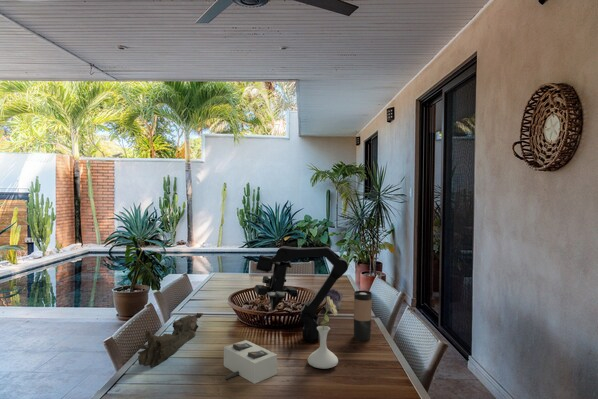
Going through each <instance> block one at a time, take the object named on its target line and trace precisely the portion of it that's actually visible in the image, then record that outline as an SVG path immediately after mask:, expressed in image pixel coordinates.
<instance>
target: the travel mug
mask: <svg viewBox="0 0 598 399" xmlns="http://www.w3.org/2000/svg"><path fill="white" fill-rule="evenodd" d="M353 294H354V295H353V296H354V298H353V301H354V302H353V338H354V340H357V341H362V342H365V341H369V340H371V332H372V329H371V328H372V304H373V303H372V291H368V290H356V291H354V293H353Z"/></svg>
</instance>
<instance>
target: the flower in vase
mask: <svg viewBox="0 0 598 399" xmlns="http://www.w3.org/2000/svg"><path fill="white" fill-rule="evenodd" d="M327 302H328V305H329V307H328V309H329V308H330V310H331V312H332V313H331V314H333V316H338V314H339V313H338V312H339V311H337V310H336V309H335V308H336V306H335V305H334V303H333V300H332V299H331V300H330V297H329V298H328V296H327ZM328 309H327V311H328ZM327 311H326V310H325V313H324V317H323V320H322V321H321V322H320V323H319V326H318V327H317V330H318V331H319V347H318V348H317V349H316V350H314V351H313V352H312V353H310V355H309V356H308V358H307V363H308V364H309V365H310V366H311V367H314V368H317V369H323V370H325V369H330V368H331V369H332V368H334V367H335V366H337V365H338V363H339V359H338V357H337V356H336V354H335V353H334V352H332V351H331V350H329V349H328V347H327V337H328V333H329V331H330V330H331V327H329V326H328V325H327V326H326V325H325V324H327V323H328V322H329V320H330V318H329V315H327V313H328V312H327ZM320 324H321V325H320Z"/></svg>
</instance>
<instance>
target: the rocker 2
mask: <svg viewBox="0 0 598 399" xmlns="http://www.w3.org/2000/svg"><path fill="white" fill-rule="evenodd" d="M265 355H268V354H266V353H264V352H262V351H256V352H248V356H250V357H252V358H260V357H262V356H265Z"/></svg>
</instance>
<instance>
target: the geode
mask: <svg viewBox="0 0 598 399" xmlns="http://www.w3.org/2000/svg"><path fill="white" fill-rule="evenodd" d="M327 296H328V298H329V297H330V300H331V299H332V300H333V303H334V305H335V306H336V308H335V309H336V310H337V312H339V311H340V309H341V306H342V304H341V303H342V301H343V300H342V299H343V293H341V292H339V291H338V289H335V288H331V289H330V291H329V292H328V294H327V295H326V297H325V298H326V299H327ZM328 307H329V305H328V302H327V304H326V305H325V307H324V308H323V309H325V312H326V311H327V309H328ZM327 313H331V314H333V313H332V312H331V310H330V308H329V309H328V311H327Z"/></svg>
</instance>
